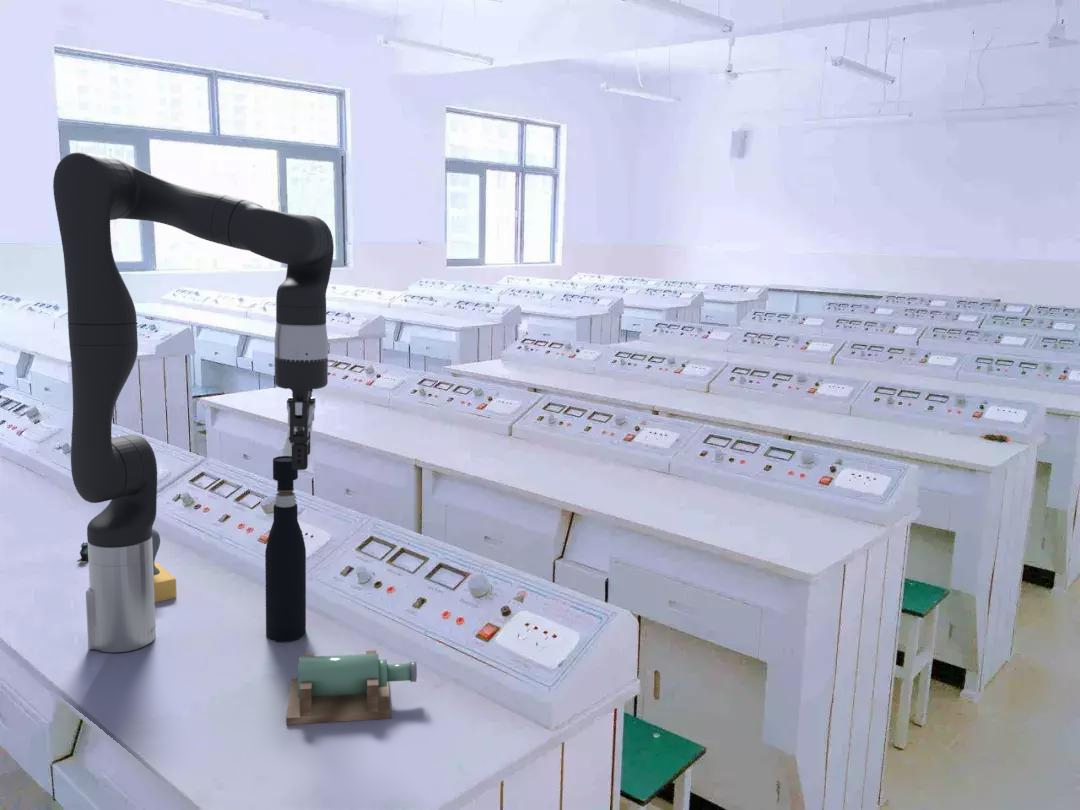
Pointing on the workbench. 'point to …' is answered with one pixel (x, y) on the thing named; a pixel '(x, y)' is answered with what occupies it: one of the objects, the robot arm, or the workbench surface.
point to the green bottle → (350, 673)
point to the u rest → (337, 703)
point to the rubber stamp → (161, 575)
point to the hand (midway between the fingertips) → (301, 461)
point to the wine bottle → (285, 561)
